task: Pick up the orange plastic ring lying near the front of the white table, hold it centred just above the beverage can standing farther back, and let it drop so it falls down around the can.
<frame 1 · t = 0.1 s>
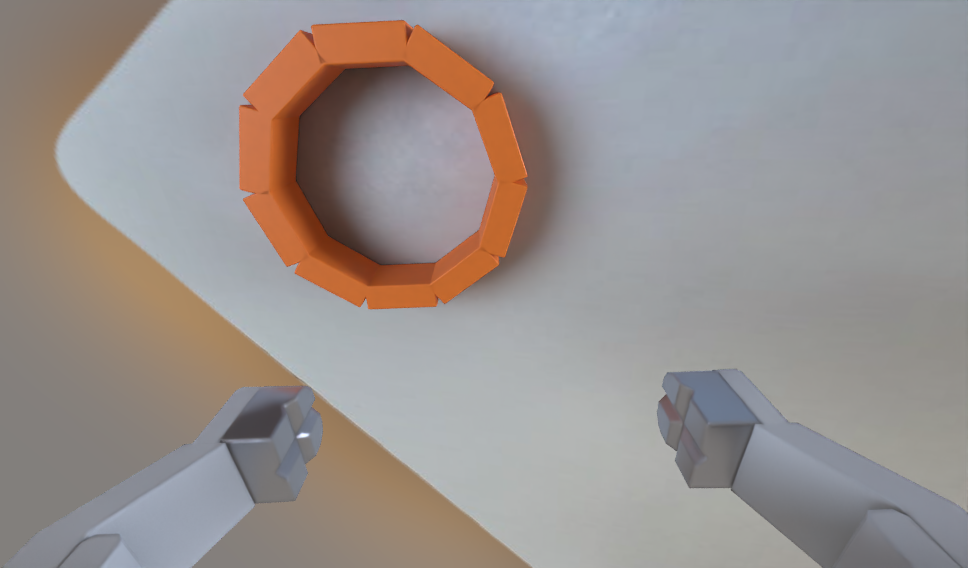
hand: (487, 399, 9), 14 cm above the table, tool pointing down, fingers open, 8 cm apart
ring: (395, 176, 20), on the table
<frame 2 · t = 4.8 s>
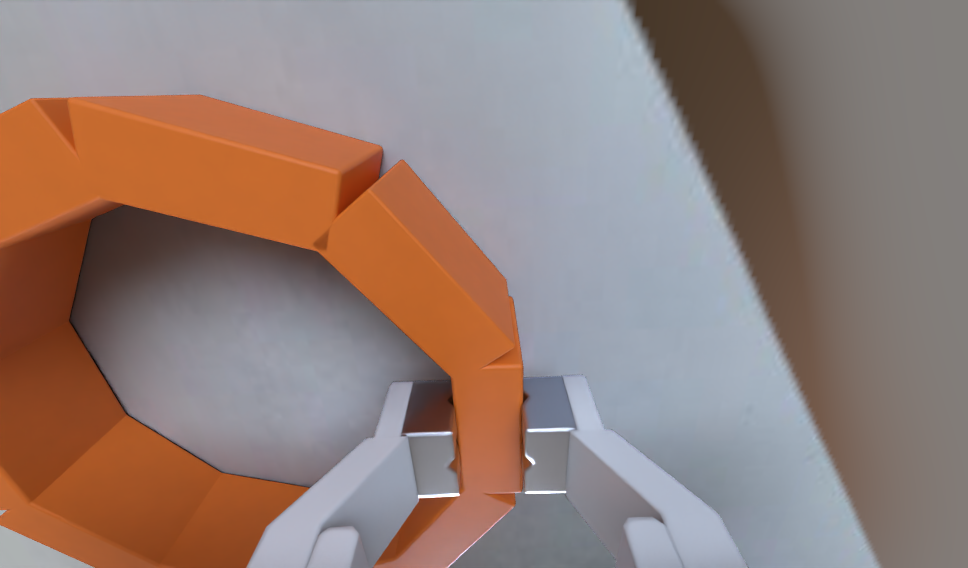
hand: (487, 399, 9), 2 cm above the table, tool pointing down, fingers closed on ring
ring: (280, 363, 11), on the table, touching gripper
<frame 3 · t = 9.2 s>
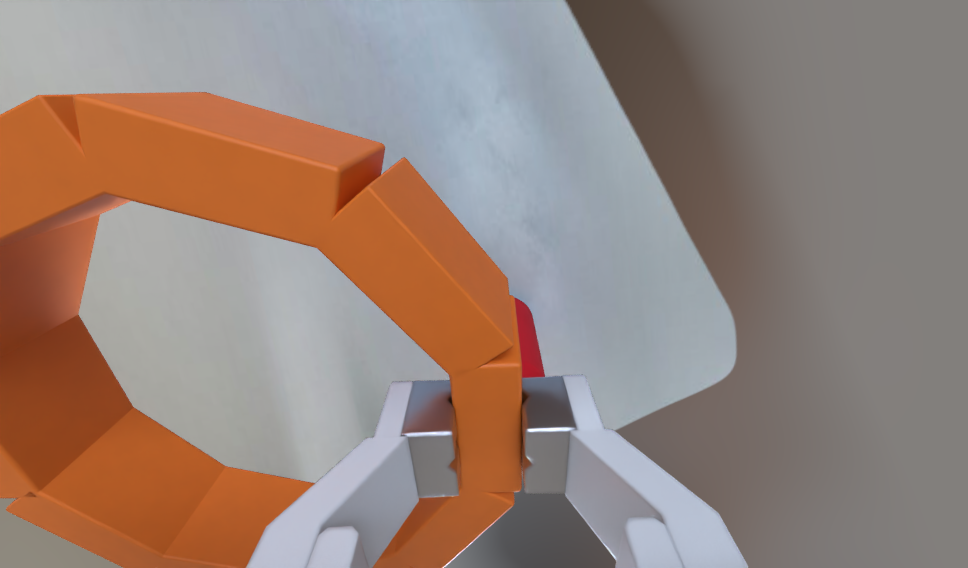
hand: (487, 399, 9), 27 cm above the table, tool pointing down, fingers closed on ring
beverage can: (501, 317, 39), on the table
ring: (283, 359, 11), point 25 cm above the table, touching gripper
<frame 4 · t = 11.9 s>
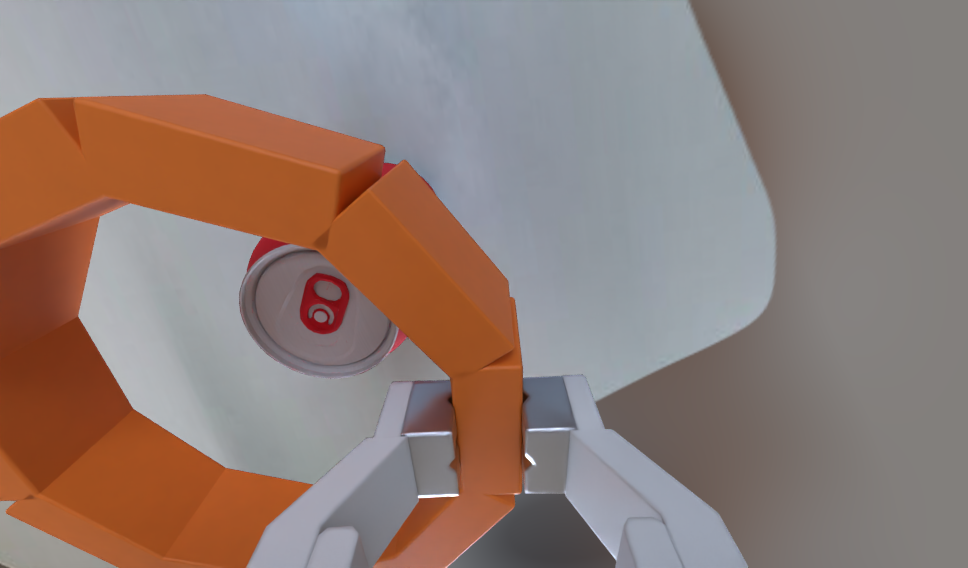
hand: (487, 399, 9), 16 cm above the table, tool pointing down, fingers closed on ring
beverage can: (393, 212, 24), on the table
ring: (283, 360, 11), point 14 cm above the table, touching gripper
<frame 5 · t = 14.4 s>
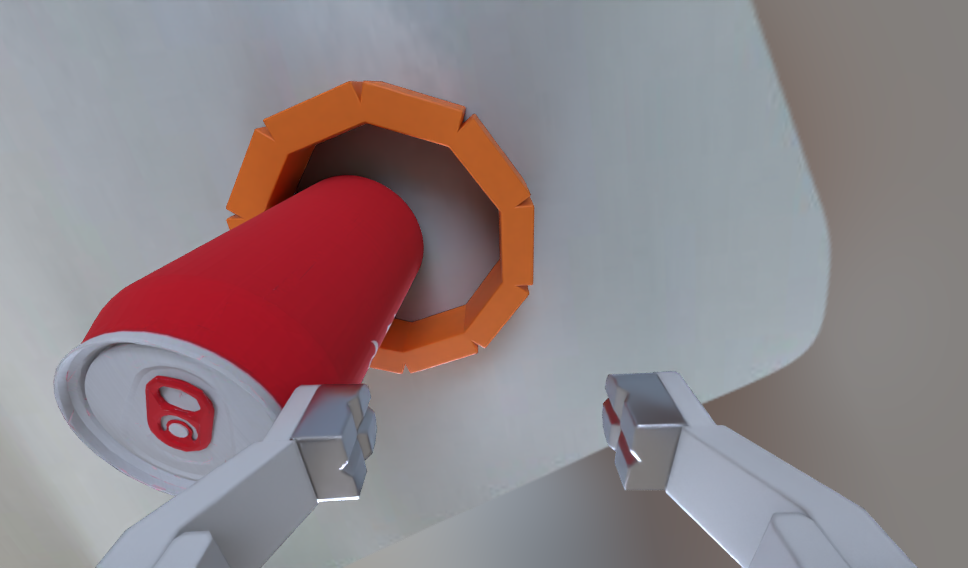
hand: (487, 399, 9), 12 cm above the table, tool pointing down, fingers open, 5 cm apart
beverage can: (366, 233, 19), resting in ring, touching gripper
ring: (398, 232, 19), on the table
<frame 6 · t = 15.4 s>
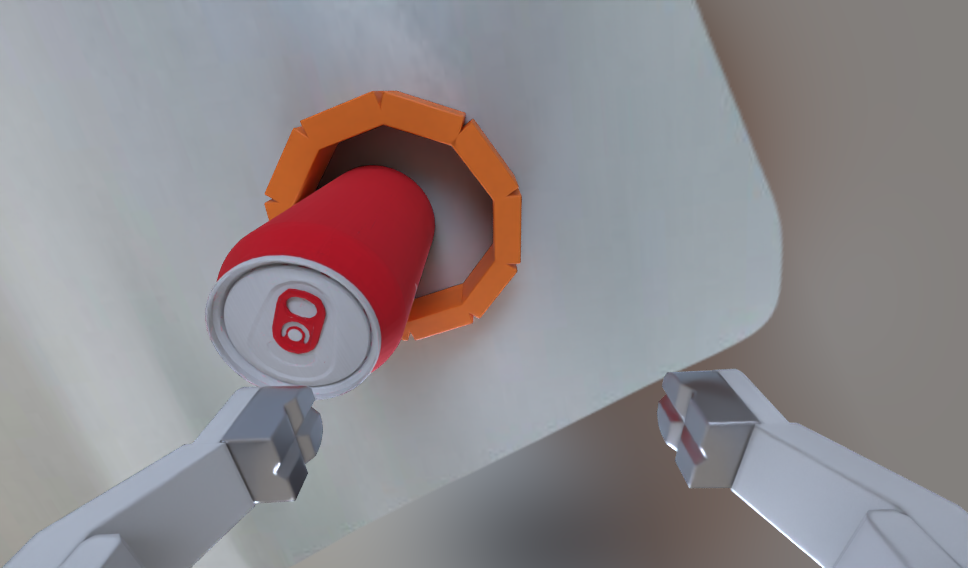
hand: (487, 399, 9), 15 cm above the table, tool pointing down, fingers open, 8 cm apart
beverage can: (384, 217, 23), resting in ring
ring: (406, 218, 23), on the table
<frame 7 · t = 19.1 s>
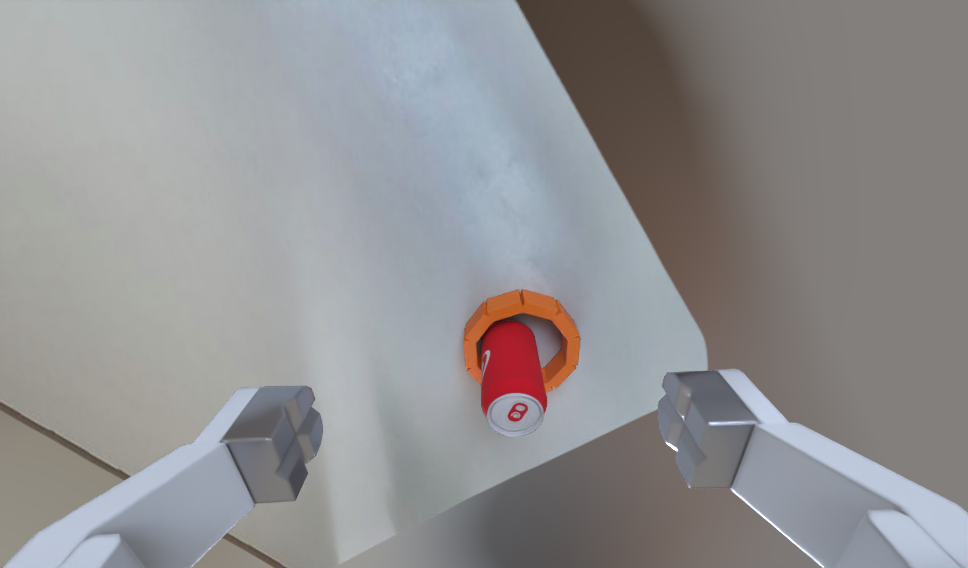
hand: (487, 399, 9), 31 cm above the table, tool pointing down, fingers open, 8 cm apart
beverage can: (508, 338, 46), resting in ring
ring: (519, 339, 46), on the table
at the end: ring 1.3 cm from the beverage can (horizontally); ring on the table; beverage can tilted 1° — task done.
